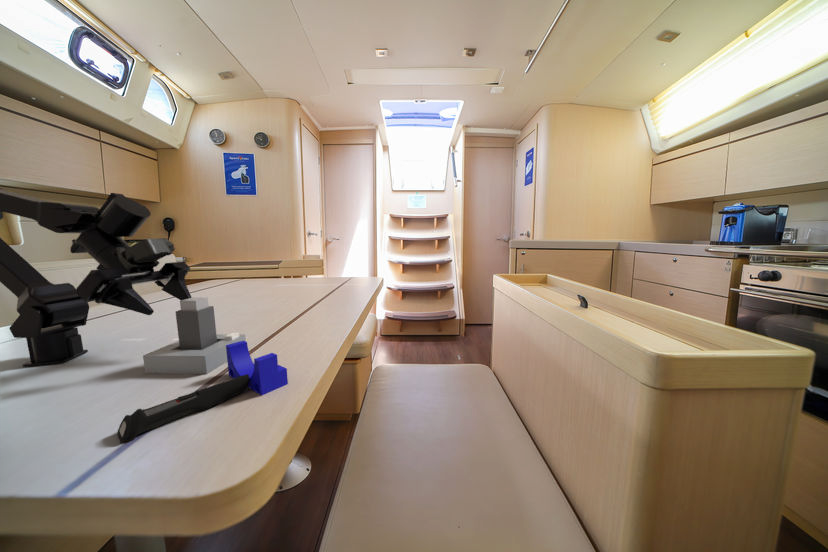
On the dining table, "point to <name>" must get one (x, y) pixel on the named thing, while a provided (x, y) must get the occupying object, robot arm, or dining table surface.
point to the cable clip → (256, 368)
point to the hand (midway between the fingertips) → (173, 307)
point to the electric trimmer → (179, 407)
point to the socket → (190, 357)
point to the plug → (196, 324)
